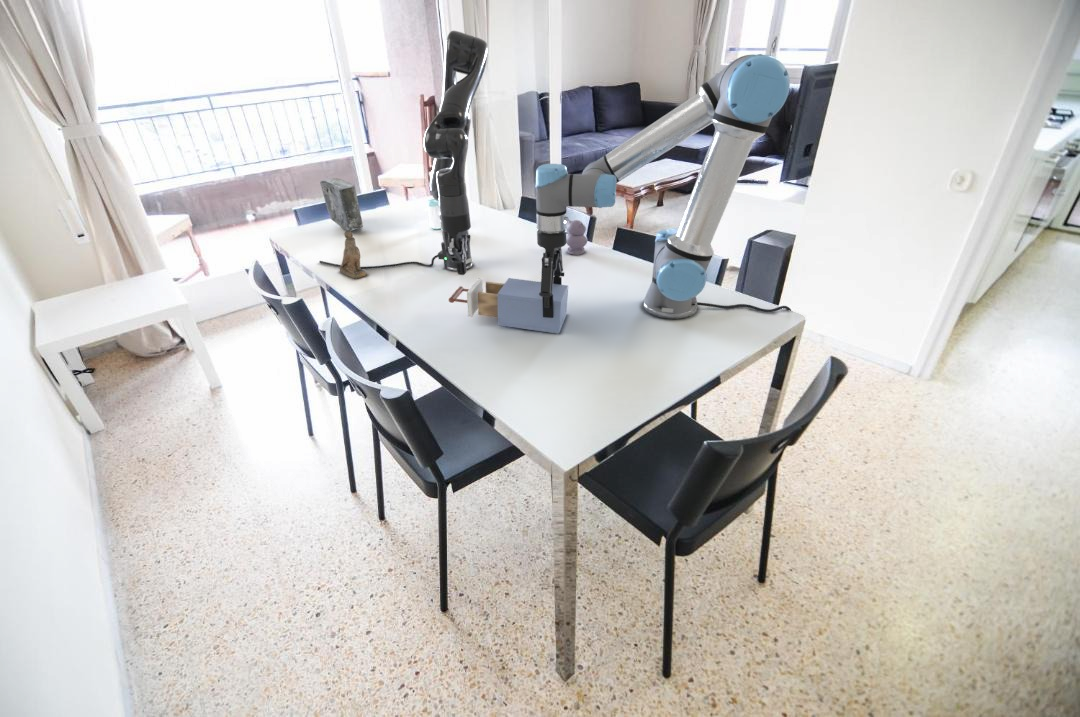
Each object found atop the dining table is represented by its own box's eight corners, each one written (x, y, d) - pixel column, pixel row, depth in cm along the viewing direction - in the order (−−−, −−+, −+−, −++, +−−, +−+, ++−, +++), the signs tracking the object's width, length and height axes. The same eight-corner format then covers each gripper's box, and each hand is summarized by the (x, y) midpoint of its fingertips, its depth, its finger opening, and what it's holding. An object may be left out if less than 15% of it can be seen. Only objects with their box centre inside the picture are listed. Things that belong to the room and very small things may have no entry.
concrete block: (368, 232, 220) (358, 186, 209) (348, 237, 216) (336, 189, 205) (349, 220, 239) (338, 176, 228) (330, 223, 234) (319, 179, 224)
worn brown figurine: (368, 281, 178) (362, 235, 166) (353, 285, 175) (347, 238, 163) (352, 266, 184) (346, 221, 172) (338, 270, 181) (331, 224, 169)
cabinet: (497, 325, 138) (497, 293, 133) (508, 307, 147) (508, 277, 142) (558, 333, 135) (561, 302, 130) (566, 315, 144) (568, 285, 139)
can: (445, 229, 220) (441, 202, 214) (429, 230, 220) (425, 202, 214) (447, 224, 226) (444, 198, 220) (432, 225, 226) (428, 198, 220)
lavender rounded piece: (591, 251, 189) (592, 220, 183) (578, 257, 185) (578, 225, 178) (574, 246, 195) (574, 216, 188) (561, 252, 190) (560, 221, 183)
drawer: (448, 313, 140) (446, 289, 136) (460, 299, 149) (459, 275, 144) (523, 324, 137) (523, 299, 133) (531, 308, 145) (532, 285, 141)
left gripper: (459, 218, 123) (466, 283, 132) (476, 205, 134) (482, 265, 143) (431, 218, 125) (440, 282, 134) (450, 204, 136) (458, 264, 145)
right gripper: (557, 245, 116) (557, 328, 127) (573, 217, 135) (573, 291, 147) (526, 243, 117) (529, 325, 129) (546, 216, 136) (548, 289, 148)
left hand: (462, 273), depth 138 cm, fingers closed
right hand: (552, 307), depth 138 cm, fingers closed on cabinet, 11 cm apart
